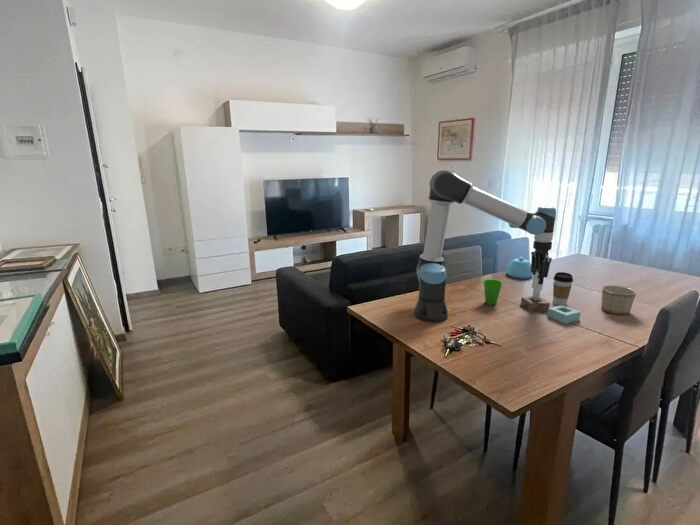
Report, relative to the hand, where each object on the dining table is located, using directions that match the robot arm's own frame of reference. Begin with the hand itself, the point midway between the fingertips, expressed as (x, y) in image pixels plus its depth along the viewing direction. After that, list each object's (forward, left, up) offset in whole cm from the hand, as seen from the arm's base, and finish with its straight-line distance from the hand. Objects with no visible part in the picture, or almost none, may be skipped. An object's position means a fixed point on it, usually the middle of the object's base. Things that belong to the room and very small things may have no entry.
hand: (536, 289), depth 177 cm
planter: (+35, -7, -10) cm, 37 cm away
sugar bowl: (+18, +50, -10) cm, 54 cm away
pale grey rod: (0, 0, -5) cm, 5 cm away
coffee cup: (+15, +4, -10) cm, 18 cm away
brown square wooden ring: (0, 0, -10) cm, 10 cm away
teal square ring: (+6, -13, -9) cm, 17 cm away
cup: (-18, +8, -10) cm, 22 cm away
